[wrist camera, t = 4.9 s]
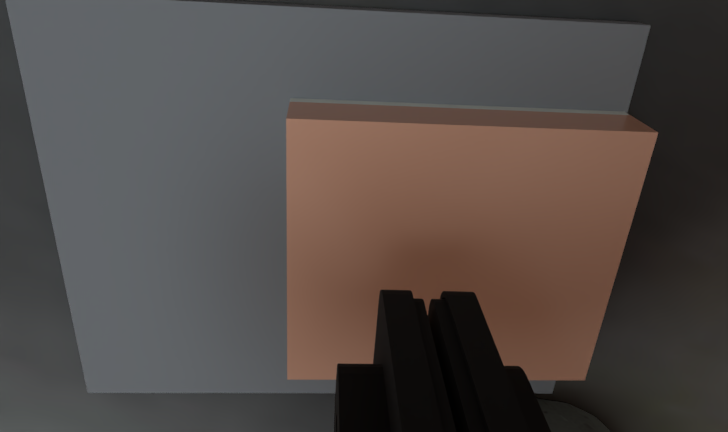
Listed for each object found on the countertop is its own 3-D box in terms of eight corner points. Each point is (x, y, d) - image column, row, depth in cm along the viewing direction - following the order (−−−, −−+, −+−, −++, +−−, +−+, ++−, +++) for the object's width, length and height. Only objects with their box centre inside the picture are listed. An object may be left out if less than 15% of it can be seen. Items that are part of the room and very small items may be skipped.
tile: (290, 98, 13) (624, 111, 14) (290, 339, 16) (563, 342, 17) (285, 118, 12) (658, 132, 12) (287, 379, 15) (584, 380, 15)
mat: (639, 22, 13) (650, 25, 13) (546, 382, 18) (552, 393, 18) (15, -11, 12) (3, -9, 12) (93, 380, 17) (87, 392, 17)
